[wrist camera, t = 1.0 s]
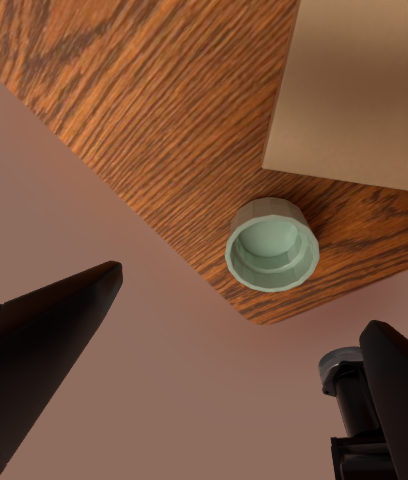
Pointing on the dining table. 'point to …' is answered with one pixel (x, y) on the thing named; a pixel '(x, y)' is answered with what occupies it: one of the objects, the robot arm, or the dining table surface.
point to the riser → (343, 94)
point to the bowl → (271, 245)
